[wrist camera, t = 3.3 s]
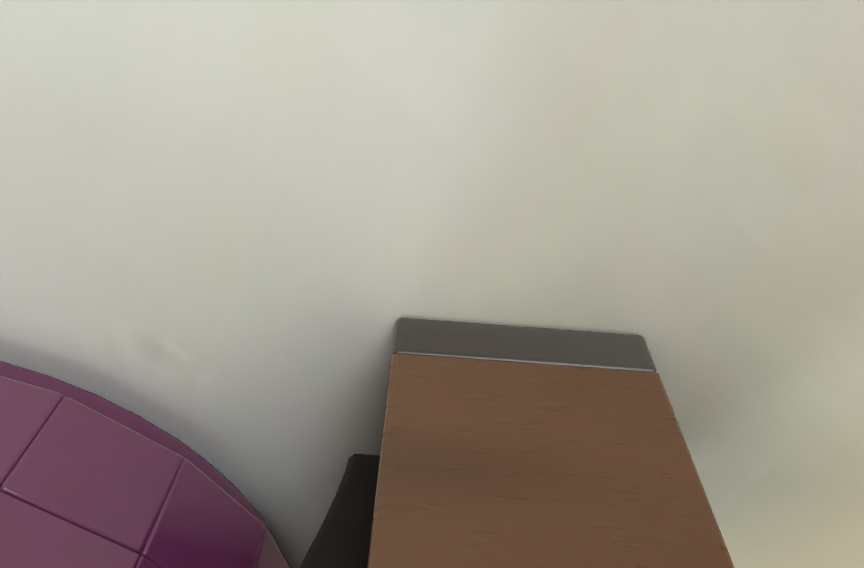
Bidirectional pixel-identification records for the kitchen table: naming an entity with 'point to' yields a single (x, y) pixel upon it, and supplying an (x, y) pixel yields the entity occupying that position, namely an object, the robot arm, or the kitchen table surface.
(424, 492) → the eraser
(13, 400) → the bowl
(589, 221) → the kitchen table surface
